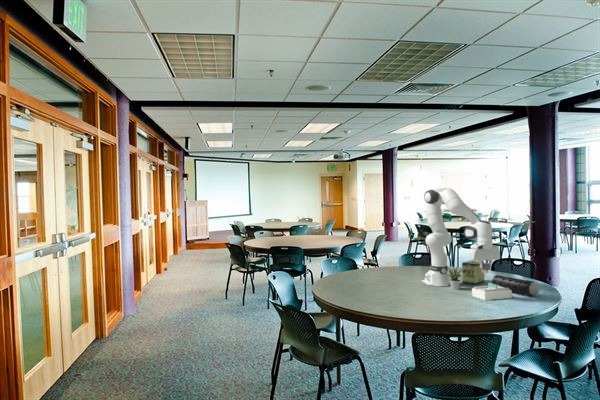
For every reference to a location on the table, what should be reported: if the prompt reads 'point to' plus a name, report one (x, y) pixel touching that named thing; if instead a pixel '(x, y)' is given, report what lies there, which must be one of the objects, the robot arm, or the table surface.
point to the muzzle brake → (517, 285)
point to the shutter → (494, 286)
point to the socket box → (491, 293)
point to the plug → (486, 267)
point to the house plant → (455, 279)
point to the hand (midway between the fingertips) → (485, 267)
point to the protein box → (472, 273)
